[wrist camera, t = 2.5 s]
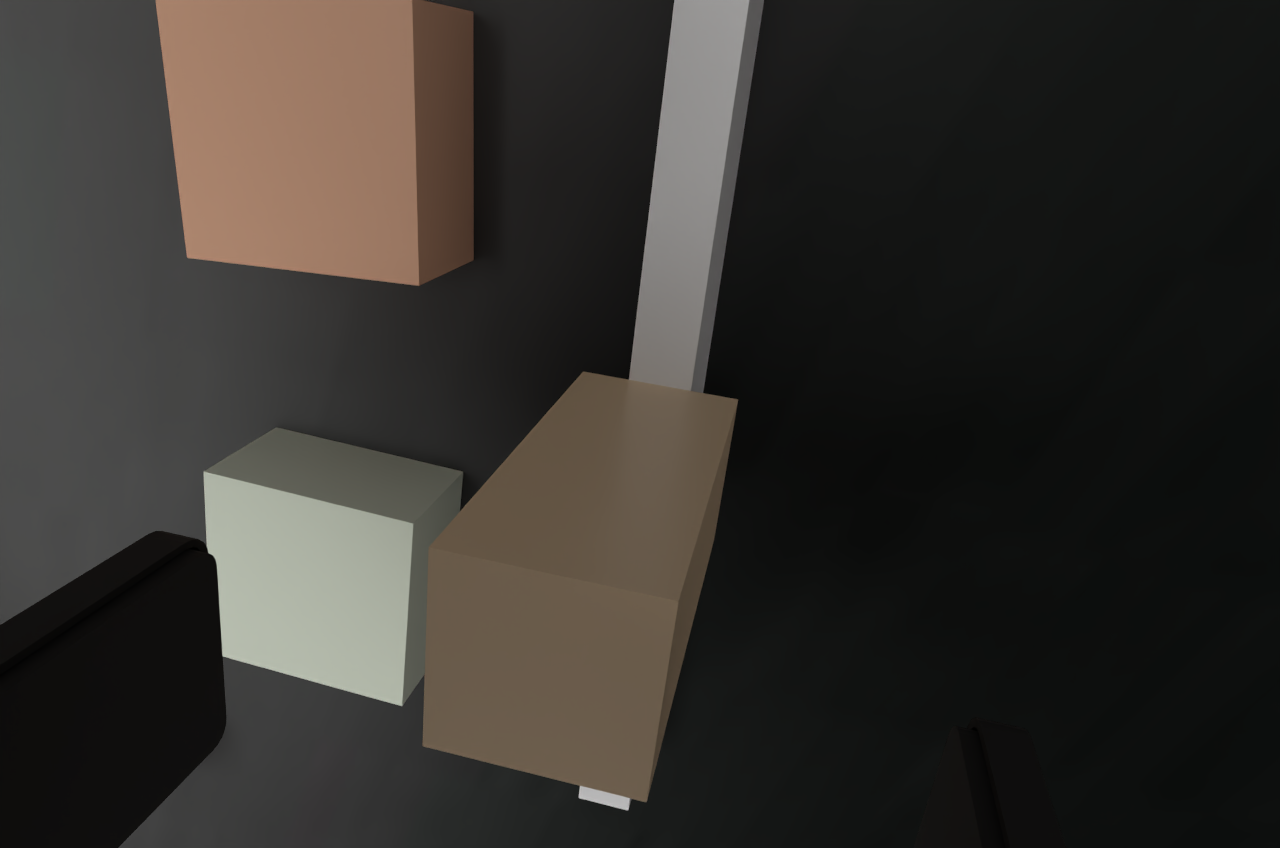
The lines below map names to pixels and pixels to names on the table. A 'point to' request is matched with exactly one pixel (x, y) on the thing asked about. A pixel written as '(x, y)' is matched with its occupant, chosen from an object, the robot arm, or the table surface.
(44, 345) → the table surface
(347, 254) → the terracotta tile
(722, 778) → the table surface
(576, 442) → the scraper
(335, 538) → the pale green square block
